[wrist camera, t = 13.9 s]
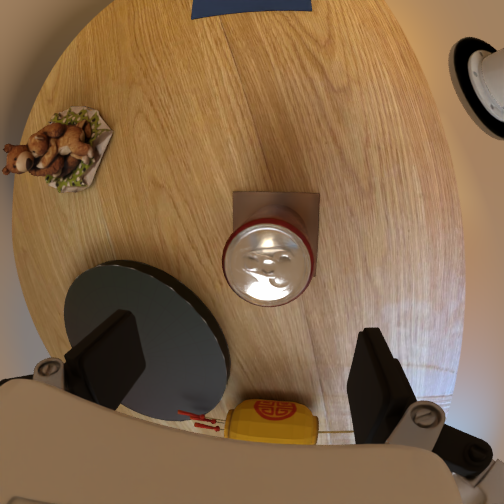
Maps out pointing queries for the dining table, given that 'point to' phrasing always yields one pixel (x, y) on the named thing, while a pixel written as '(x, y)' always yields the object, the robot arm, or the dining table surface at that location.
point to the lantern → (268, 422)
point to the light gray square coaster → (297, 201)
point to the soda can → (269, 257)
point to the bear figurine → (63, 150)
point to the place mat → (245, 6)
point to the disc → (156, 336)
